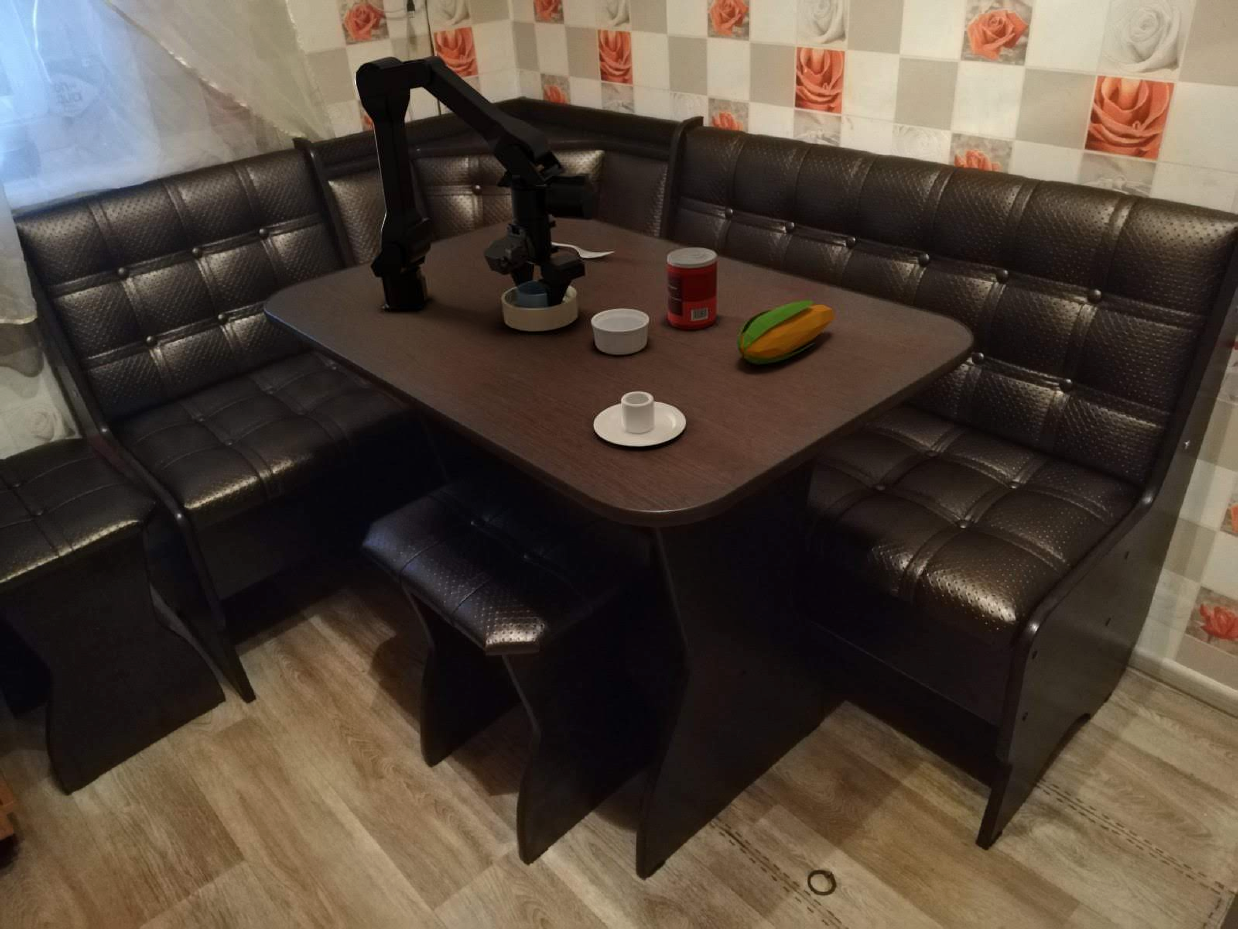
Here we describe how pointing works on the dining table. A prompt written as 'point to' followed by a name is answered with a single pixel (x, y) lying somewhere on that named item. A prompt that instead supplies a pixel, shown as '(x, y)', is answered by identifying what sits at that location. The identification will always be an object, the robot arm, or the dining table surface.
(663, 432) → the candle holder
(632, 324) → the ramekin
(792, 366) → the dining table surface
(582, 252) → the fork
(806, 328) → the corn
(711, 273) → the canned food
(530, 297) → the slate bowl
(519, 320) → the cream bowl
